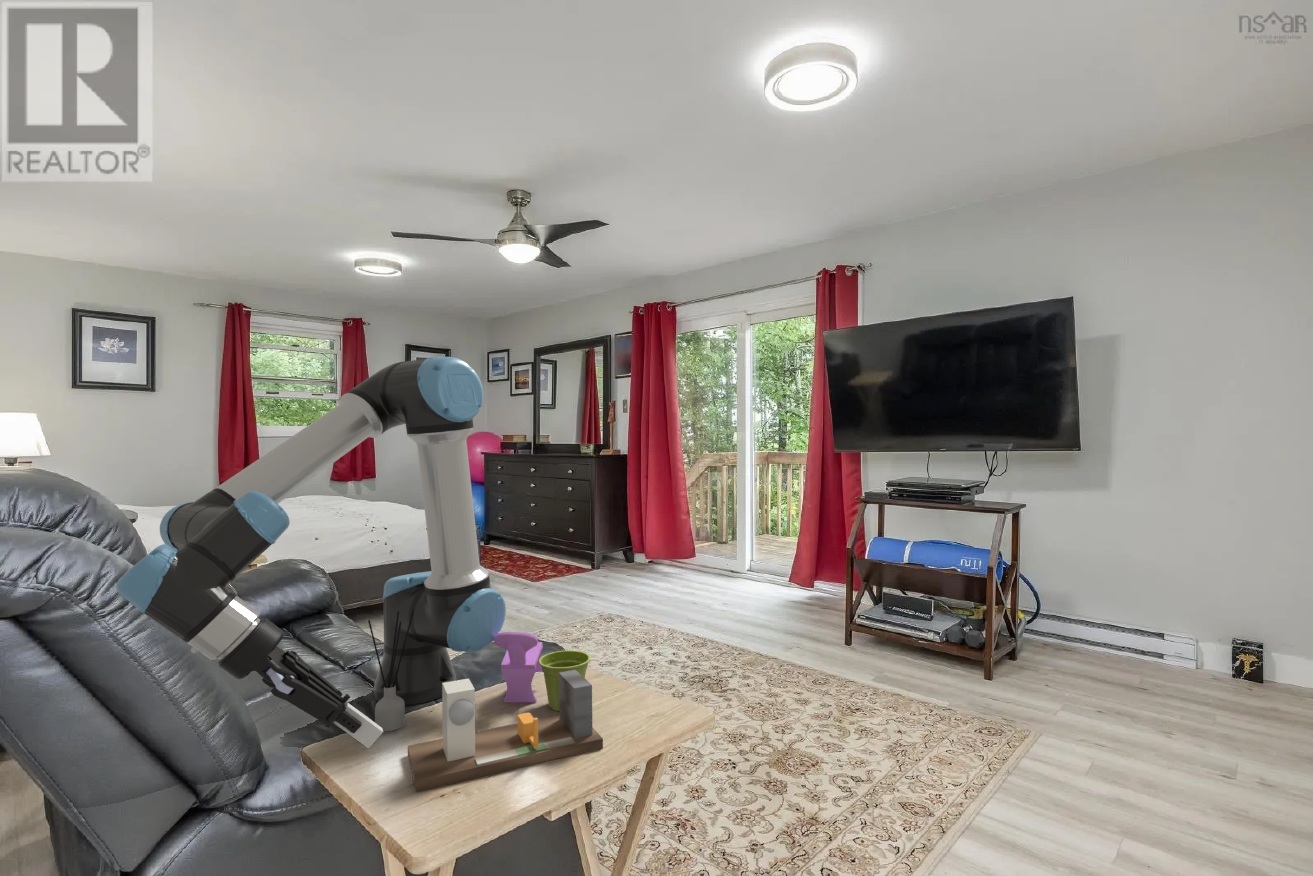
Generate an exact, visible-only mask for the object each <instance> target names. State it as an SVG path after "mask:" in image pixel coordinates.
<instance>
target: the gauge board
mask: <svg viewBox="0 0 1313 876" xmlns="http://www.w3.org/2000/svg"><path fill="white" fill-rule="evenodd" d="M601 749H604V738H603V737H602V735H600V734H599V733H598V731H596V729H595V728H594V727H593V684H592V683H590V682H589V681H588V680H587V679H586V677H585V678H584V677H583V676H582V675H581V674H580V673H579V672H577V671H576V670H571V671H565V672H560V673H559V711H558V714H557V715H556V714H555V715H551V716H547V717H541V718H538V748H536V749H534V747H533V746H532V744H531V743H530V742H528V743H523V741H522V740H521V738H520V736H519V735H518V732H517V723H512V724H507V725H502V726H497V727H492V728H489V729H483V730H478V731H475V756H472V757H467V758H462V759H458V760H453V761H449V762H448V761H447V759H446V756H445V753H444V750H443V738H438V739H434V740H429V741H424V742H420V743H419V742H418V743H414V744H409V745H407V757H409V758H408V763H409V766H411V767H410V771H411V770H412V771H411V774H412V775H413V776H412V779H414V780H413V784H415V785H414V789H415V793H419V792H422V791H427V790H431V789H435V788H439V787H443V786H448V785H453V784H456V783H460V782H465V781H469V780H472V779H478V778H482V777H487V776H490V775H494V774H498V773H503V772H507V771H511V770H515V769H518V768H519V769H520V768H525V767H528V766H533V765H536V764H541V763H545V762H548V761H554V760H557V759H561V758H566V757H570V756H574V755H579V754H583V753H587V752H591V751H596V750H601Z"/></svg>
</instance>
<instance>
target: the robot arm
mask: <svg viewBox="0 0 1313 876" xmlns="http://www.w3.org/2000/svg"><path fill="white" fill-rule="evenodd" d="M483 388H484V387H483V384H482V382H481V379H480V377H479V375H478V374H477V371H476V370H474V368H472V367H471V366H470V365H469V364H468V363H467V362H466V361H464V360H462V359H461V358H458V357H453V356H433V357H428V358H427V357H426V358H421V359H413V360H407V361H406V360H405V361H400V362H394V363H392V364H389V365H388V366H385V367H384V368H381V369H380V370H378V371H377V372H375V373H373V374H372V375H371V376H368V378H366V379H365V380H363V381H362V382H360V383H359V384H357V385H356V386H354V387H353V388H351V389H350V390H349V391H347V392H345V393H344V394H343V395H341V397H340V400H339V404H338V405H337V406H336V407H334V408H331V410H329V411H328V412H326V413H325V414H324V415H321V416H320V417H319V418H317V419H316V420H315V421H313V422H312V423H310V424H309V425H307V426H305V427H304V428H302V429H301V430H299V431H298V432H296V433H295V434H293V435H292V436H291V437H289V438H287V439H286V440H285V441H283V442H282V443H280V444H279V445H277V446H275V448H273V449H271V450H270V451H268V452H267V453H265V454H264V455H262V456H261V457H260V458H258V459H256V460H255V461H254V462H252V463H250V464H249V465H247V466H246V467H244V468H243V469H241V470H240V471H238V473H237V472H236V474H234V475H233V476H231V477H229V479H227V480H226V481H224V482H223V483H221V484H220V485H218V486H216V487H215V488H214V489H212V490H210V491H209V492H207V493H205V494H204V495H202V496H201V497H200V498H198V499H196V500H195V501H191V502H185V503H182V504H179V505H176V506H174V507H172V508H171V509H169V510H168V511H167V512H166V513H165V514H164V515H163V517H162V519H161V521H160V524H159V534H160V537H161V540H162V541H163V544H161V545H158V546H156V547H155V548H154V549H153V550H152V551H150V552H149V553H148V554H147V555H145V556H144V557H143V558H141V559H140V560H139V561H138V562H137V563H135V564H134V565H133V566H132V567H131V568H130V569H129V570H127V571H126V572H125V573H124V574H123V575H122V576H121V577H120V578H119V579H118V581H117V583H116V592H117V593H118V594H119V595H120V596H121V597H122V598H123V599H125V600H126V601H128V602H129V603H131V605H133V606H134V607H135V608H136V609H138V611H140V613H142V614H144V615H145V616H147V617H148V618H149V619H151V620H152V621H154V622H156V623H157V624H159V625H160V626H161V627H163V628H164V629H165V630H167V631H169V632H171V633H172V634H173V635H175V636H176V637H177V638H179V639H181V640H182V641H183V642H184V643H186V644H188V645H189V646H191V649H190V651H191V653H192V654H198V653H199V652H200V653H201V654H202V655H203V656H204V657H206V658H208V659H209V660H211V661H214V660H217V659H219V660H218V667H219V668H221V669H223V670H224V671H225V672H227V673H228V674H230V675H231V676H232V677H234V678H235V679H237V680H241V679H244V678H246V677H248V676H249V675H250V674H251V673H252V672H255V673H257V674H258V675H259V676H261V677H262V679H261V680H262V682H263V683H264V684H265V685H267V686H268V687H269V688H272V689H271V690H270V693H271V695H272V696H273V697H276V698H279V699H282V700H283V701H286V702H287V703H290V704H292V705H293V706H294V707H296V708H297V709H300V710H301V711H302V712H304V713H306V714H308V715H309V716H312V717H313V718H315V719H317V720H318V721H320V722H322V723H323V724H324V727H326V728H327V729H328V728H330V727H331V726H332V725H333V724H334V725H335V726H337V727H338V728H339V729H341V730H342V731H344V732H345V733H347V734H348V735H349V736H350V737H352V738H354V739H355V740H356V741H358V742H359V743H361V744H362V745H363V746H365V747H366V748H367V749H370V747H372V745H373V744H374V743H375V742H376V741H377V739H379V737H380V736H381V735H382V734H383V733H384V731H383V729H382V727H380V726H379V725H377V724H376V723H375V721H373V720H372V719H371V718H369V717H368V716H367V715H366V714H364V713H363V712H362V711H360V710H358V709H357V708H356V707H354V706H353V705H352V704H350V702H348V701H349V700H350V698H351V696H350V694H349V693H346V694H345V695H344V696H343V693H342V691H340V690H338V689H337V688H336V687H335V686H334V685H333V684H332V683H330V682H329V681H328V680H327V679H326V678H325V677H323V676H322V675H321V674H320V673H319V672H318V671H316V670H315V669H314V668H312V667H311V666H310V665H309V664H308V663H307V662H306V661H304V660H303V659H302V657H300V655H299V654H298V653H297V651H294V650H289V649H287V650H286V651H285V650H284V649H282V648H280V647H278V645H279V644H280V642H282V640H283V638H284V635H285V632H284V631H283V629H281V628H280V627H278V626H277V625H276V624H275V623H274V622H272V621H271V620H270V619H268V618H267V617H266V618H264V617H262V618H259V616H260V612H259V611H258V610H257V609H256V608H254V607H253V606H251V605H250V604H249V603H247V602H246V601H245V600H243V599H242V598H241V597H239V596H238V595H236V594H234V593H233V592H232V591H230V590H229V588H227V587H228V586H229V585H230V583H232V582H233V581H234V580H235V579H236V578H237V577H238V576H239V575H240V574H242V573H243V572H244V571H245V570H246V569H247V568H248V567H249V566H250V565H251V564H253V562H254V561H255V560H257V559H258V558H259V557H260V555H262V554H263V553H264V552H266V550H268V548H269V547H271V545H274V544H275V543H276V541H277V540H278V539H279V538H280V537H281V535H282V534H284V532H286V530H287V529H288V528H289V526H290V518H289V515H288V513H287V512H286V511H285V510H284V508H283V507H282V506H281V505H280V503H281V502H283V501H284V500H285V499H286V498H288V497H289V496H290V495H292V494H293V493H295V492H296V491H297V490H299V489H300V488H301V487H303V486H304V485H306V484H307V483H308V482H310V481H311V480H312V479H314V478H315V477H316V476H318V475H319V474H320V473H322V472H323V471H324V470H326V469H327V468H328V467H330V466H331V465H333V464H334V463H336V462H337V461H338V460H339V459H340V458H342V457H343V456H345V455H346V454H348V453H349V452H351V451H352V450H353V449H355V447H357V446H358V445H360V444H361V443H363V442H364V441H365V440H367V439H368V438H373V439H374V438H375V439H376V438H378V437H380V436H381V435H382V434H384V433H385V432H387V431H389V430H390V429H391V430H392V428H393V429H394V428H396V427H399V426H402V425H405V430H406V435H407V437H408V438H409V439H411V440H412V441H413V442H415V444H416V446H417V454H418V462H419V464H418V465H419V471H420V481H421V482H420V483H421V489H422V497H423V508H424V515H425V525H426V534H427V541H428V542H427V543H428V551H429V560H430V567H431V569H430V571H423V572H415V573H409V574H404V575H398V576H394V577H390V578H389V579H388V580H386V581H385V582H384V585H383V593H382V594H383V595H382V598H381V599H382V601H383V656H382V661H380V663H381V667H382V671H383V675H384V679H385V683H386V685H388V682H389V674H390V666H391V659H392V651H393V643H394V636H395V628H396V620H397V613H398V611H399V618H398V625H397V633H396V641H397V635H398V629H399V623H400V621H401V627H400V633H399V639H398V645H397V650H396V656H395V662H394V668H393V674H392V679H391V684H393V683H394V679H395V675H396V672H397V668H398V664H399V660H400V656H401V652H402V649H403V645H404V641H405V637H406V633H407V629H408V626H409V622H410V618H411V614H412V611H414V612H413V616H412V620H411V624H410V628H409V632H408V636H407V639H406V643H405V647H404V651H403V655H402V659H401V663H400V666H399V670H398V674H397V678H396V682H395V685H396V695H397V696H399V697H400V698H402V699H403V700H404V703H405V706H406V705H414V704H422V703H427V702H431V701H433V700H436V699H440V698H442V683H445V682H451V681H457V680H456V679H457V678H456V676H457V675H456V672H455V669H454V666H453V663H452V660H451V658H450V655H449V650H448V649H451V650H452V651H454V652H457V653H458V652H459V653H461V652H463V653H477V652H480V651H483V650H485V649H486V648H487V647H489V646H490V645H491V644H492V643H494V636H495V635H496V634H498V633H500V632H501V630H502V628H503V626H504V623H505V620H506V611H507V607H506V602H505V599H504V597H503V595H502V594H500V593H499V591H497V590H496V589H493V588H492V586H491V580H490V579H491V578H490V572H489V570H487V569H486V568H485V567H484V566H482V565H481V564H480V555H479V544H478V538H477V528H476V518H475V509H474V507H475V506H474V499H473V498H474V497H473V489H472V480H471V472H470V471H471V470H470V462H469V453H468V452H469V451H468V444H467V443H468V442H467V440H468V437H469V436H470V434H471V433H472V432H473V431H474V418H475V417H476V416H477V415H478V414H479V412H480V409H481V408H482V407H483V403H484V389H483ZM396 641H395V647H396ZM394 652H395V648H394ZM393 658H394V656H393ZM392 664H393V663H392ZM373 686H374V687H373V690H374V693H373V696H374V699H375V700H376V701H377V702H379V701H380V700H381V699H382V698H383V697H384V682H383V678H382V674H381V670H380V668H379V669H378V672H377V674H376V678H375V681H374V685H373Z"/></svg>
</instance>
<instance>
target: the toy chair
mask: <svg viewBox="0 0 1313 876" xmlns="http://www.w3.org/2000/svg"><path fill="white" fill-rule="evenodd" d="M493 644H494V645H496V646H498V647H501V648H503V649H505V650H506V651H505V654H504V657H503V659H502V661H501V664H500V667H501V675H502V676H503V678H504V681H505V683H506V691H505V692H506V693H505V696H504V699H503V703H537V698H536V696H535V694H534V691H533V687H532V686H533V685H532V683H533V680H534V677H535V674H536V673H544V672H543V671H542V666H541V665H540V664H539V660H540V658H541V657H542V651H543V650H544V649H543V648H544V646H543V642H542V641H539V638H538V637H537V636H536V635H535V634H533V633H528V632H525V631H524V632H523V631H504V632H498V634H496V635H495V636H494V641H493Z"/></svg>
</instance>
